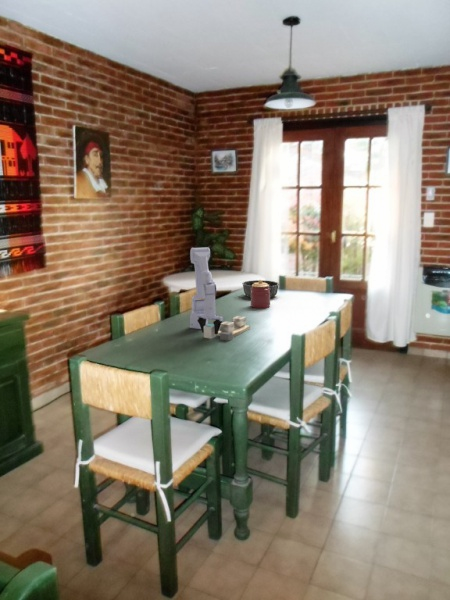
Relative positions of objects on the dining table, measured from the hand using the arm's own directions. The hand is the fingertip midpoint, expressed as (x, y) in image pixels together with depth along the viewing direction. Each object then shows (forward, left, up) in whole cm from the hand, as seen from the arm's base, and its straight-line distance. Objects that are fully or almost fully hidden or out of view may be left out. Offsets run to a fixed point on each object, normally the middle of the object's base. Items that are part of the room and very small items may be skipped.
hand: (210, 333), depth 252 cm
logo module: (0, 0, -2) cm, 2 cm away
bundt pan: (-22, +107, -2) cm, 109 cm away
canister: (-8, +77, -2) cm, 77 cm away
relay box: (+9, 0, -2) cm, 10 cm away
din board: (+6, +14, -2) cm, 15 cm away
